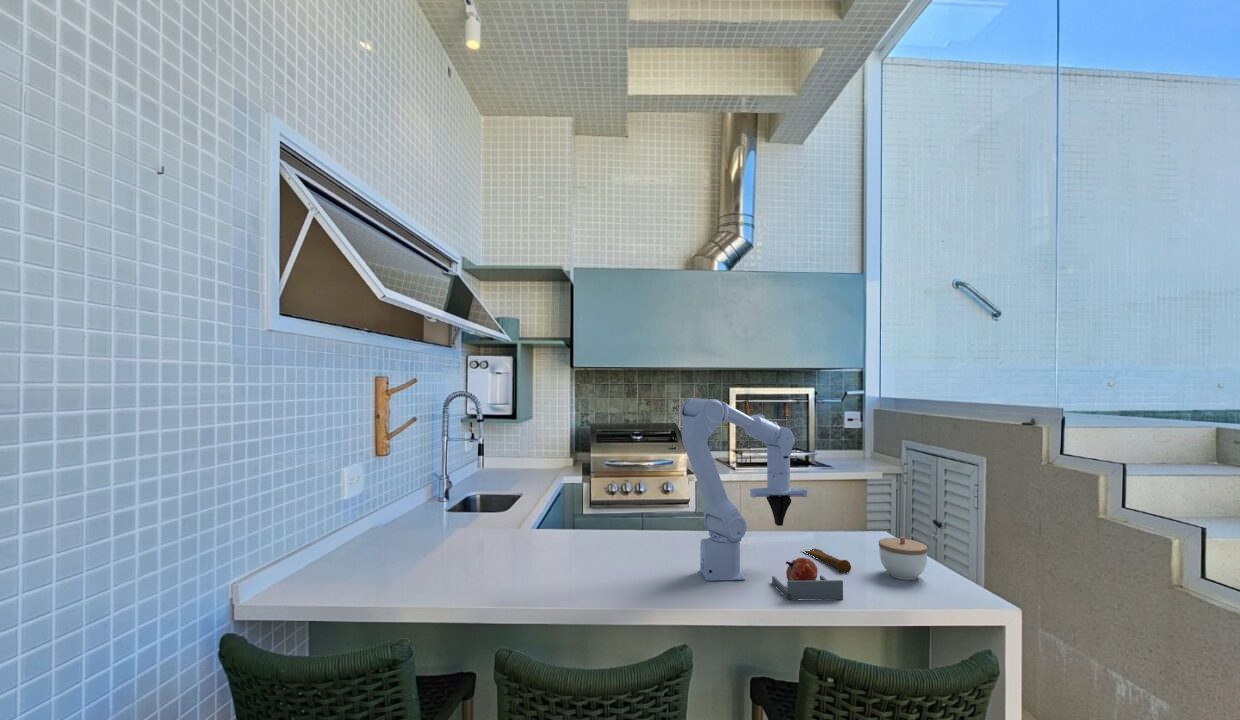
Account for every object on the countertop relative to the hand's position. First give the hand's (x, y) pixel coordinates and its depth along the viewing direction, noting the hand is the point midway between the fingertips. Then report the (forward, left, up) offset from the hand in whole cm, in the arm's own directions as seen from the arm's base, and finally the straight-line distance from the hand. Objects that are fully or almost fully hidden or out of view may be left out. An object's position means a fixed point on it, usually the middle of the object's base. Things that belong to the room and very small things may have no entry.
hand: (778, 524), depth 143 cm
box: (0, -17, -10) cm, 20 cm away
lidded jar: (+28, -9, -11) cm, 31 cm away
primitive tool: (+13, +3, -11) cm, 18 cm away
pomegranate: (0, -17, -11) cm, 20 cm away
